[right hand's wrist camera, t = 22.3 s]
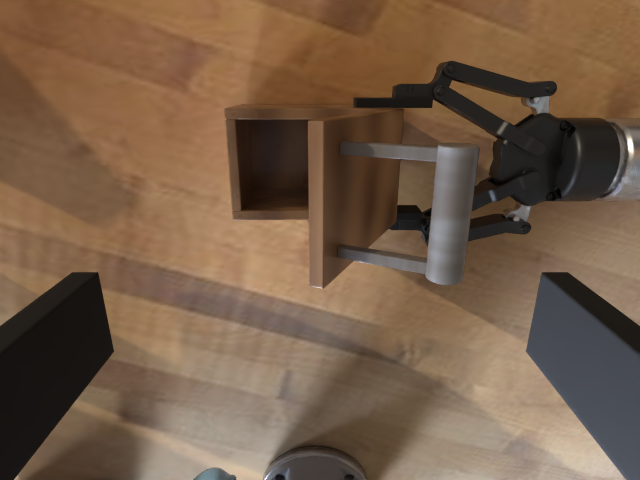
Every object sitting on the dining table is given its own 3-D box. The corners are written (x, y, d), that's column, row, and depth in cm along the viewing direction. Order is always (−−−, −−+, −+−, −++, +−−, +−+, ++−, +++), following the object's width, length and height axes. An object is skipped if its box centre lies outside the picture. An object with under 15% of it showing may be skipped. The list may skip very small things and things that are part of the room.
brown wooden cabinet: (247, 194, 46) (232, 220, 37) (242, 104, 42) (224, 108, 34) (374, 194, 46) (390, 219, 37) (378, 104, 43) (396, 108, 34)
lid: (308, 286, 25) (452, 318, 21) (307, 120, 21) (476, 126, 18) (385, 220, 37) (485, 234, 33) (392, 108, 34) (502, 110, 30)
